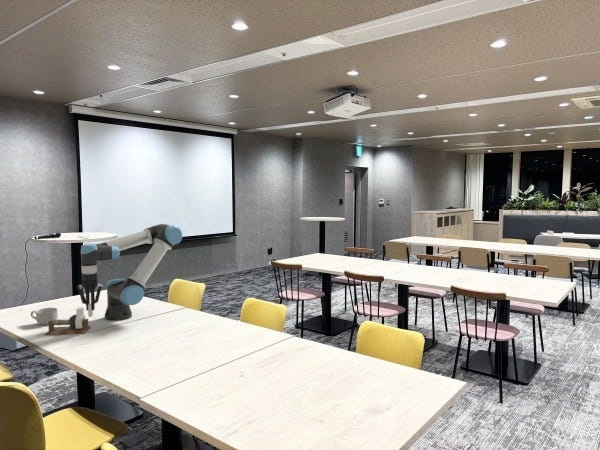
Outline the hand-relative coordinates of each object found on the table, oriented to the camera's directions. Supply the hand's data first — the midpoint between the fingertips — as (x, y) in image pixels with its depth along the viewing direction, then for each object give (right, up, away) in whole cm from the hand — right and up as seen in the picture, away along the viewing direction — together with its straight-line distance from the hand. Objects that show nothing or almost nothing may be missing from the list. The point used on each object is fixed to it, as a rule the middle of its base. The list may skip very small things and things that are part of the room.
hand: (90, 316), depth 231 cm
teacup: (-32, -7, +12) cm, 35 cm away
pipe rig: (-11, -8, -1) cm, 14 cm away
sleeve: (-5, -6, 0) cm, 8 cm away
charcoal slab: (-9, -6, -1) cm, 11 cm away
